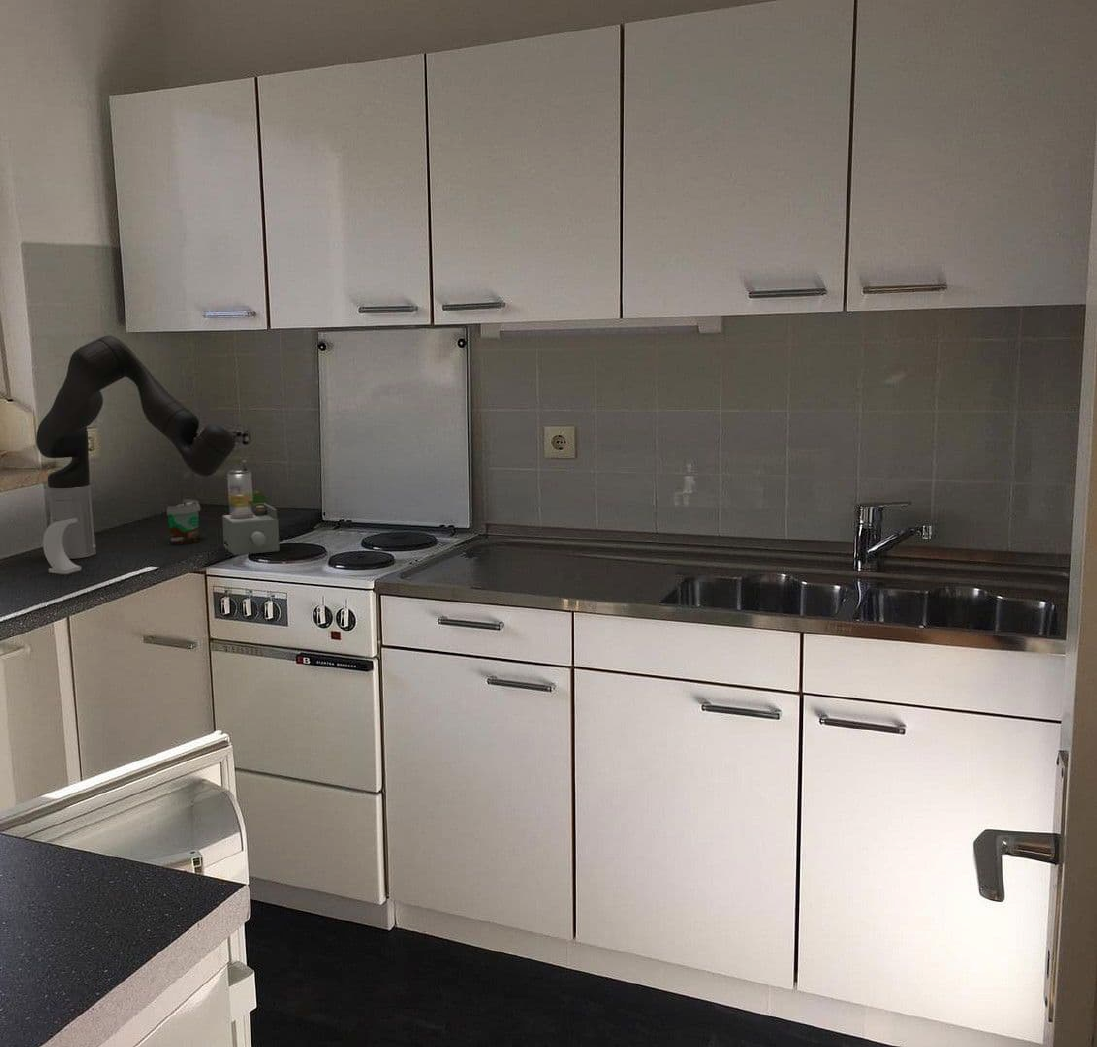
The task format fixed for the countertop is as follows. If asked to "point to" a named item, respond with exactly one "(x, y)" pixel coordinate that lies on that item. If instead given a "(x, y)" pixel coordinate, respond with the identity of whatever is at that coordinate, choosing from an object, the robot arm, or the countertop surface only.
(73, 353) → the robot arm
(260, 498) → the avocado
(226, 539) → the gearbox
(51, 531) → the headphone stand
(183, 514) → the food container
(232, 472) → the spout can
